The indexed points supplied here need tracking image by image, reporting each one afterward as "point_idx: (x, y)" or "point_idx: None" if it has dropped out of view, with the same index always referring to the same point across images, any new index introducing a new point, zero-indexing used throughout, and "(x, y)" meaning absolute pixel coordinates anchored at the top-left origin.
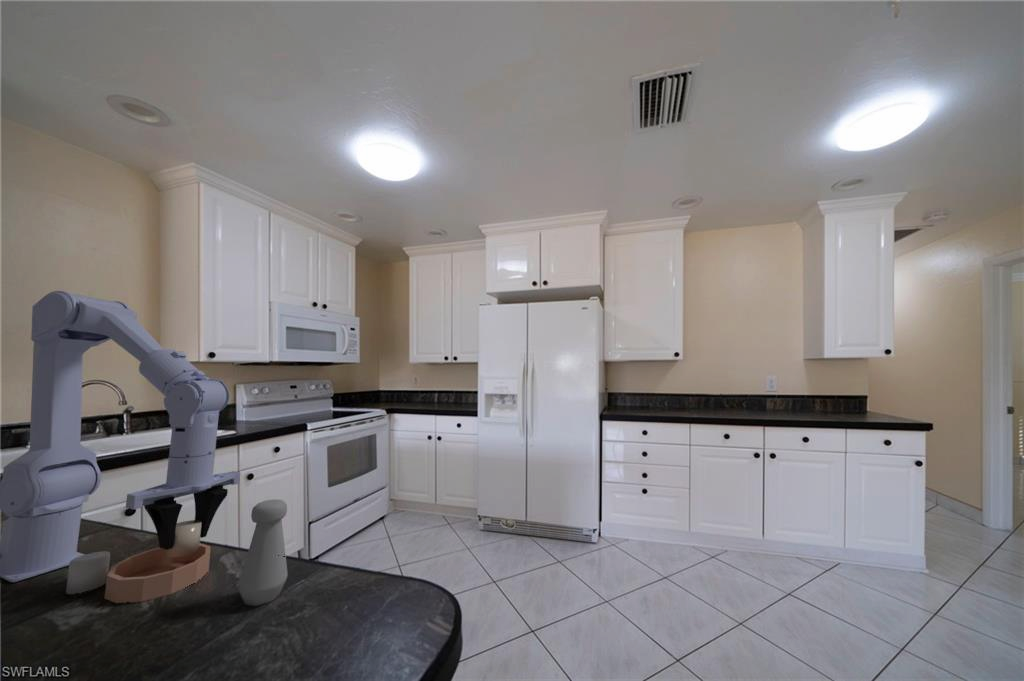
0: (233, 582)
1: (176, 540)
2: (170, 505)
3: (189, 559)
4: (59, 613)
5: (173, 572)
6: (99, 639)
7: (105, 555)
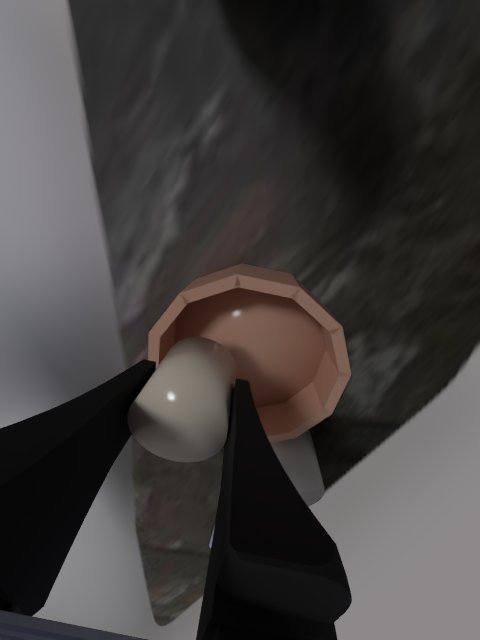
0: (212, 158)
1: (227, 388)
2: (289, 592)
3: None
4: (366, 400)
5: (298, 287)
6: (463, 247)
7: None
